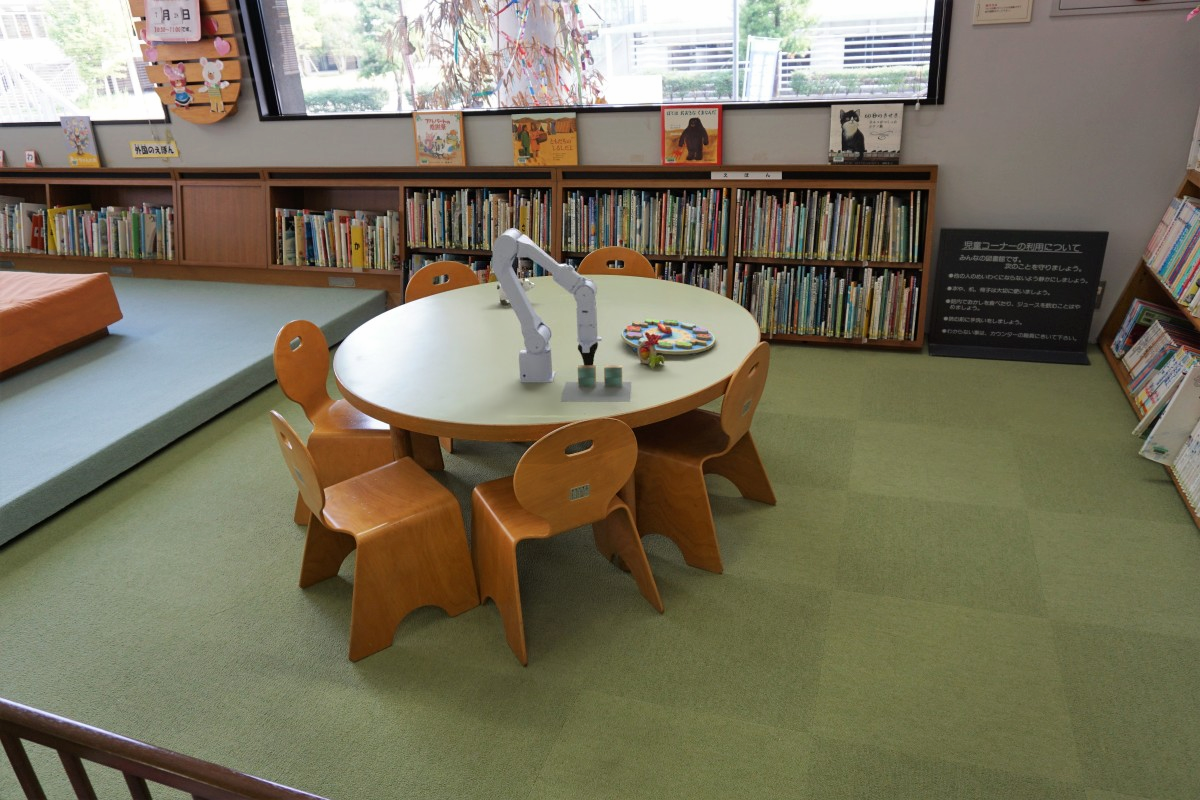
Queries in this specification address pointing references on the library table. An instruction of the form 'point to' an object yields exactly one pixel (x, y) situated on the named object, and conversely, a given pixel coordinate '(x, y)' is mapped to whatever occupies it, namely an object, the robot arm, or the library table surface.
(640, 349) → the bird rattle
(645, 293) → the library table surface
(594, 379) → the left oak tile
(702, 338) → the shape sorting clock
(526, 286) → the giant panda
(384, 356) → the library table surface
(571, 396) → the felt mat
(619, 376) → the right oak tile
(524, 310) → the robot arm
